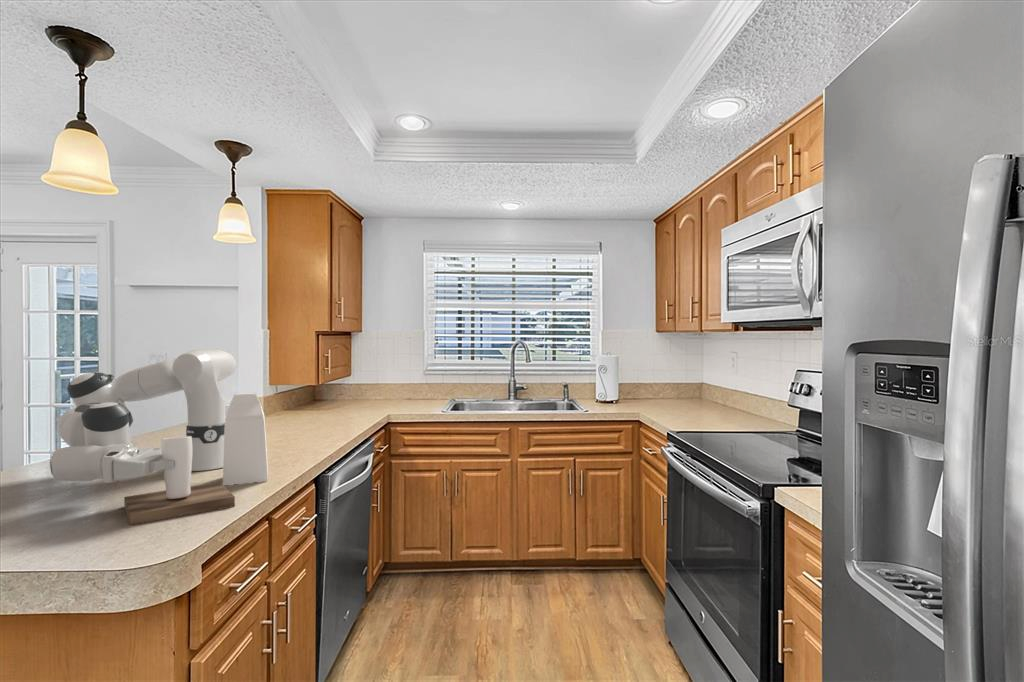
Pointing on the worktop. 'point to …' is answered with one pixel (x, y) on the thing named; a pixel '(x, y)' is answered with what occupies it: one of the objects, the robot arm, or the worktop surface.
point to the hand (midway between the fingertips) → (182, 459)
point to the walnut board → (177, 503)
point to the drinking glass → (178, 466)
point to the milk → (245, 441)
